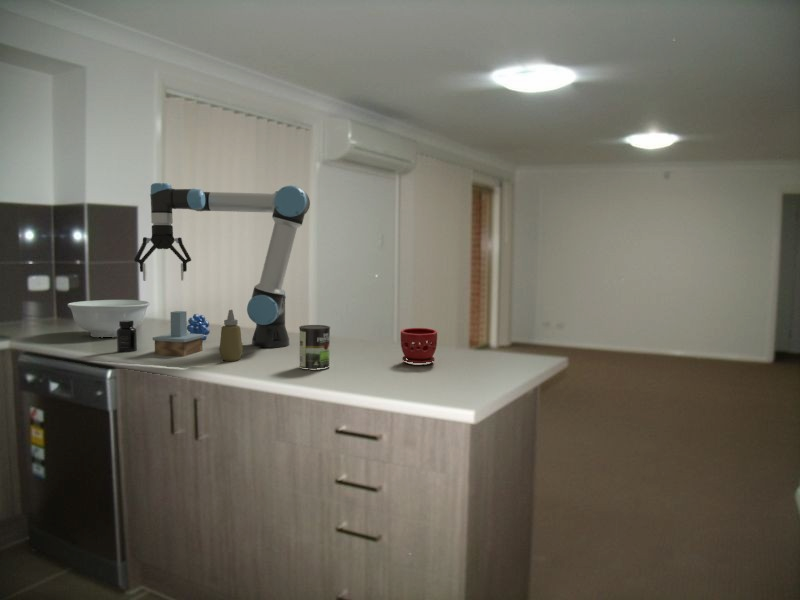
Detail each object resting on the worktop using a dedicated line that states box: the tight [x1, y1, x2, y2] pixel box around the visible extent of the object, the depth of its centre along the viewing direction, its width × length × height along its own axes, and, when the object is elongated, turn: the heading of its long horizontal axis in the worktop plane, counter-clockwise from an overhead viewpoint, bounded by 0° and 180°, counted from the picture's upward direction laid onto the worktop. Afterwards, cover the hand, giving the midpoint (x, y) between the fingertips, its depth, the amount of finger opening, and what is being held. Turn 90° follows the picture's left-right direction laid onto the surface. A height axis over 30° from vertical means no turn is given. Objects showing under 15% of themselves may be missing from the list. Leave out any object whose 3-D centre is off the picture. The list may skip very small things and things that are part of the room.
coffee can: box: [298, 324, 331, 369], centre depth 209 cm, size 10×10×14 cm
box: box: [154, 338, 203, 357], centre depth 229 cm, size 12×12×6 cm
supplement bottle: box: [116, 320, 138, 353], centre depth 230 cm, size 7×7×12 cm
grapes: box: [187, 313, 211, 342], centre depth 256 cm, size 12×7×12 cm, turn 151°
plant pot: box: [400, 327, 438, 363], centre depth 220 cm, size 13×13×12 cm
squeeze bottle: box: [219, 309, 243, 362], centre depth 220 cm, size 8×8×18 cm
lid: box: [152, 310, 204, 342], centre depth 228 cm, size 13×13×10 cm
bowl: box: [67, 299, 151, 339], centre depth 270 cm, size 32×32×15 cm
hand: (163, 280), depth 236 cm, fingers open, 13 cm apart
